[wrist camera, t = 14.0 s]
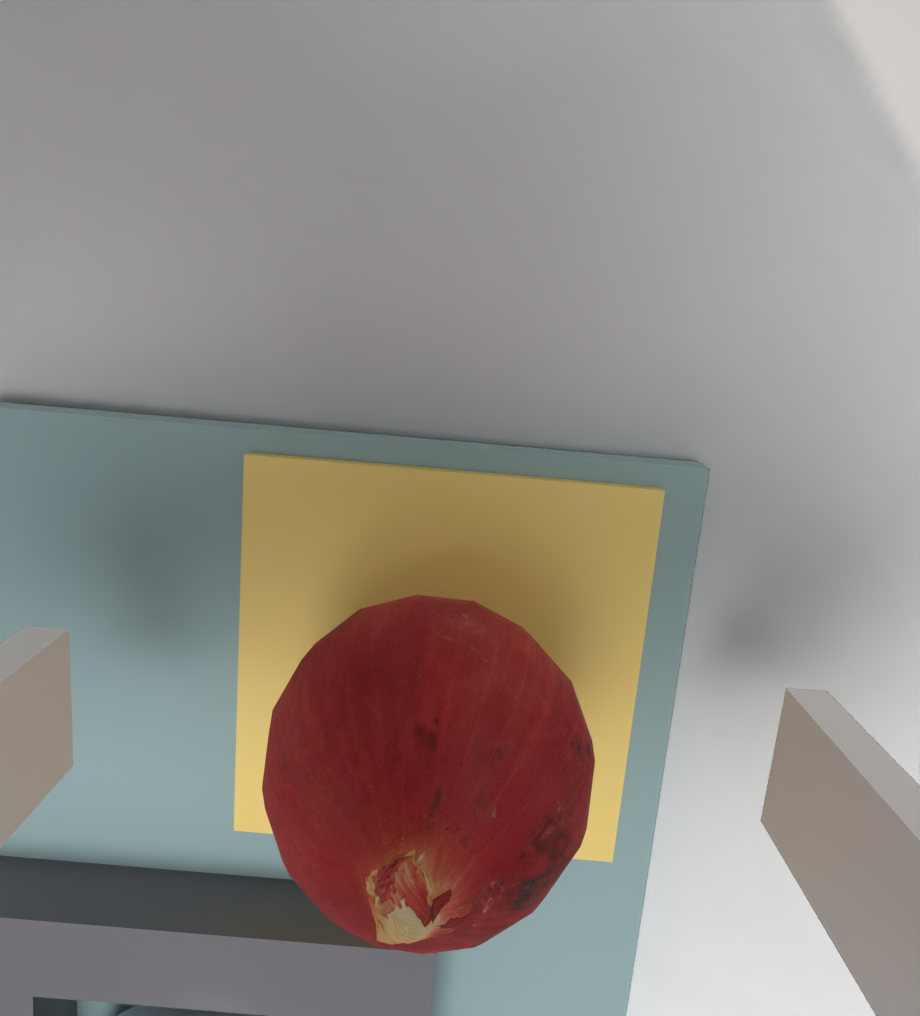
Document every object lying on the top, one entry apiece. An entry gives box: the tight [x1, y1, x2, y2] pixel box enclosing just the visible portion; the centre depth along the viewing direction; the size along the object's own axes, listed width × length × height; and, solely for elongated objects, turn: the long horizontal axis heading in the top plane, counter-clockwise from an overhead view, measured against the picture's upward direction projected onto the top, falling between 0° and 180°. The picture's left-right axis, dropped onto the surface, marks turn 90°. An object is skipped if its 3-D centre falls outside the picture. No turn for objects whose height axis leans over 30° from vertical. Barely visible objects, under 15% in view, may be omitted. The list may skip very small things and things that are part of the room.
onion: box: [262, 595, 595, 954], centre depth 14 cm, size 6×6×8 cm
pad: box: [234, 452, 665, 862], centre depth 18 cm, size 9×9×1 cm
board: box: [0, 402, 710, 1016], centre depth 20 cm, size 22×16×1 cm
